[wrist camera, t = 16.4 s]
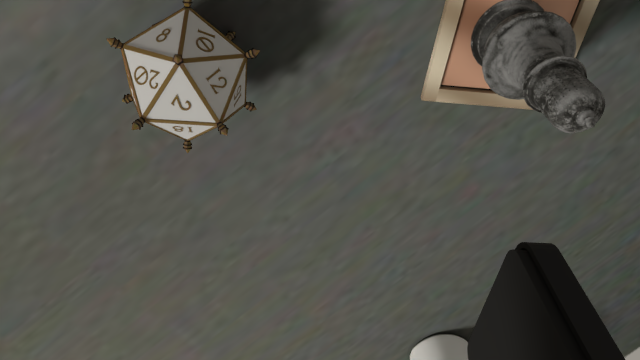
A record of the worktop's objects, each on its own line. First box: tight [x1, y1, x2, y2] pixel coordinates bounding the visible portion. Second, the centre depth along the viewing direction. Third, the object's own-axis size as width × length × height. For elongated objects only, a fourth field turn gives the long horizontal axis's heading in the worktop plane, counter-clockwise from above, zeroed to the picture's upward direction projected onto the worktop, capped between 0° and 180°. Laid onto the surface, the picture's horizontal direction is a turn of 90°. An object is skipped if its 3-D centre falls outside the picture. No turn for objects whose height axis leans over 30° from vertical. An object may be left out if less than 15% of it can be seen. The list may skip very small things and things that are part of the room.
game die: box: [107, 0, 260, 153], centre depth 34 cm, size 9×8×10 cm
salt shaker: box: [471, 0, 605, 133], centre depth 33 cm, size 6×6×12 cm
